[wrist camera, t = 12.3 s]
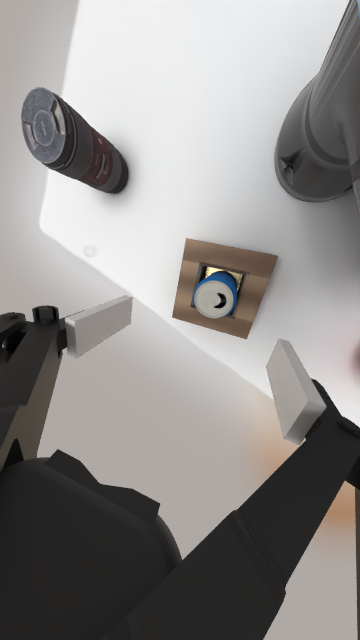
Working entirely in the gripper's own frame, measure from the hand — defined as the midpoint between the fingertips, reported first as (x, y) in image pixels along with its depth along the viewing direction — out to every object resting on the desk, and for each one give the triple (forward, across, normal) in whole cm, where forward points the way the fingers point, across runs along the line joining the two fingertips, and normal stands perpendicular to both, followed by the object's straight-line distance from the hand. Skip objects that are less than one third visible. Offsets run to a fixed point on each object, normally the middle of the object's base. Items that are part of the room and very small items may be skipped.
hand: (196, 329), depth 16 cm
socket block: (+25, 0, 0) cm, 25 cm away
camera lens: (+25, -27, +17) cm, 40 cm away
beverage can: (+24, 0, 0) cm, 24 cm away
